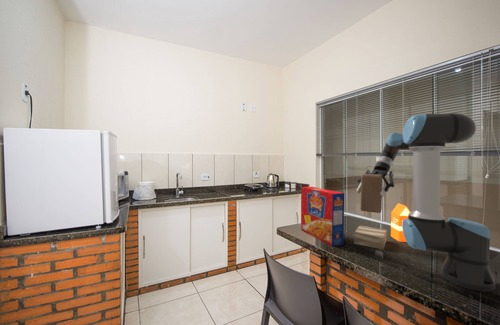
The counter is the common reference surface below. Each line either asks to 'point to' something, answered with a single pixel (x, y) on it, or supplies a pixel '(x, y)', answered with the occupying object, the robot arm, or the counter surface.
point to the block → (371, 193)
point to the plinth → (370, 237)
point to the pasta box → (323, 215)
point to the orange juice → (398, 222)
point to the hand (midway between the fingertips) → (369, 193)
